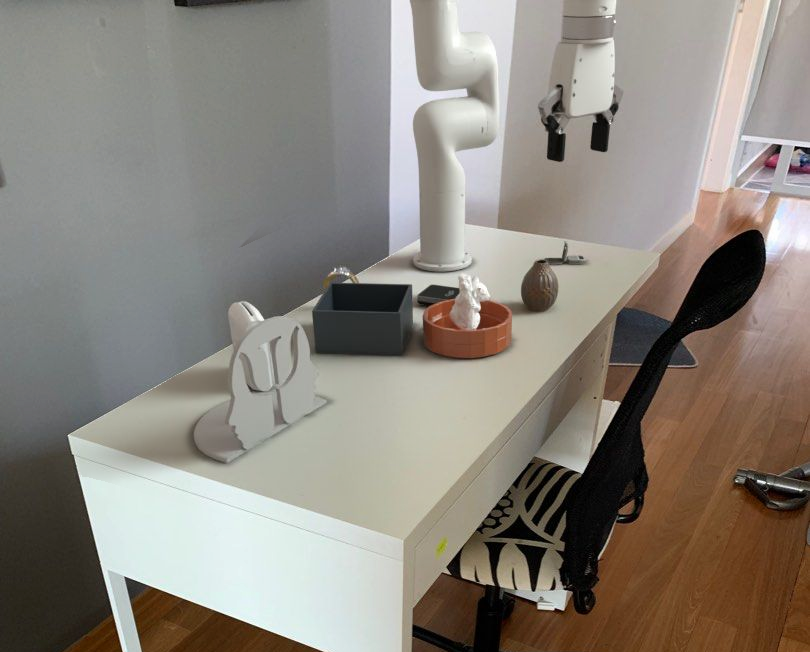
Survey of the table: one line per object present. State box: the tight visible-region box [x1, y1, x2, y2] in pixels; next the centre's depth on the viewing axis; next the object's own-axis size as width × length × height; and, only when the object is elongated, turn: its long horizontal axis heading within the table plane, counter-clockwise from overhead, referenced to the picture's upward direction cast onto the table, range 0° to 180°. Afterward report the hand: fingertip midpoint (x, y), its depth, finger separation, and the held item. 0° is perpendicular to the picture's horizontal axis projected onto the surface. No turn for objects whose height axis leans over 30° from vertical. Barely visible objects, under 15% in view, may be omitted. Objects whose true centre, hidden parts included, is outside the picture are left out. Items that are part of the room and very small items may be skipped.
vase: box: [520, 259, 559, 312], centre depth 159 cm, size 7×7×9 cm
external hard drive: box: [416, 284, 460, 307], centre depth 164 cm, size 7×11×2 cm, turn 64°
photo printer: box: [227, 300, 275, 391], centre depth 136 cm, size 10×4×12 cm, turn 26°
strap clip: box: [543, 240, 587, 265], centre depth 181 cm, size 8×3×4 cm, turn 87°
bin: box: [311, 282, 414, 357], centre depth 149 cm, size 14×15×8 cm
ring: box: [323, 264, 360, 292], centre depth 161 cm, size 7×3×8 cm, turn 68°
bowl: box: [422, 299, 513, 359], centre depth 148 cm, size 15×15×5 cm
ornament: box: [193, 315, 328, 464], centre depth 123 cm, size 22×13×17 cm, turn 145°
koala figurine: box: [450, 273, 491, 330], centre depth 145 cm, size 8×7×12 cm
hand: (577, 155), depth 135 cm, fingers open, 9 cm apart
